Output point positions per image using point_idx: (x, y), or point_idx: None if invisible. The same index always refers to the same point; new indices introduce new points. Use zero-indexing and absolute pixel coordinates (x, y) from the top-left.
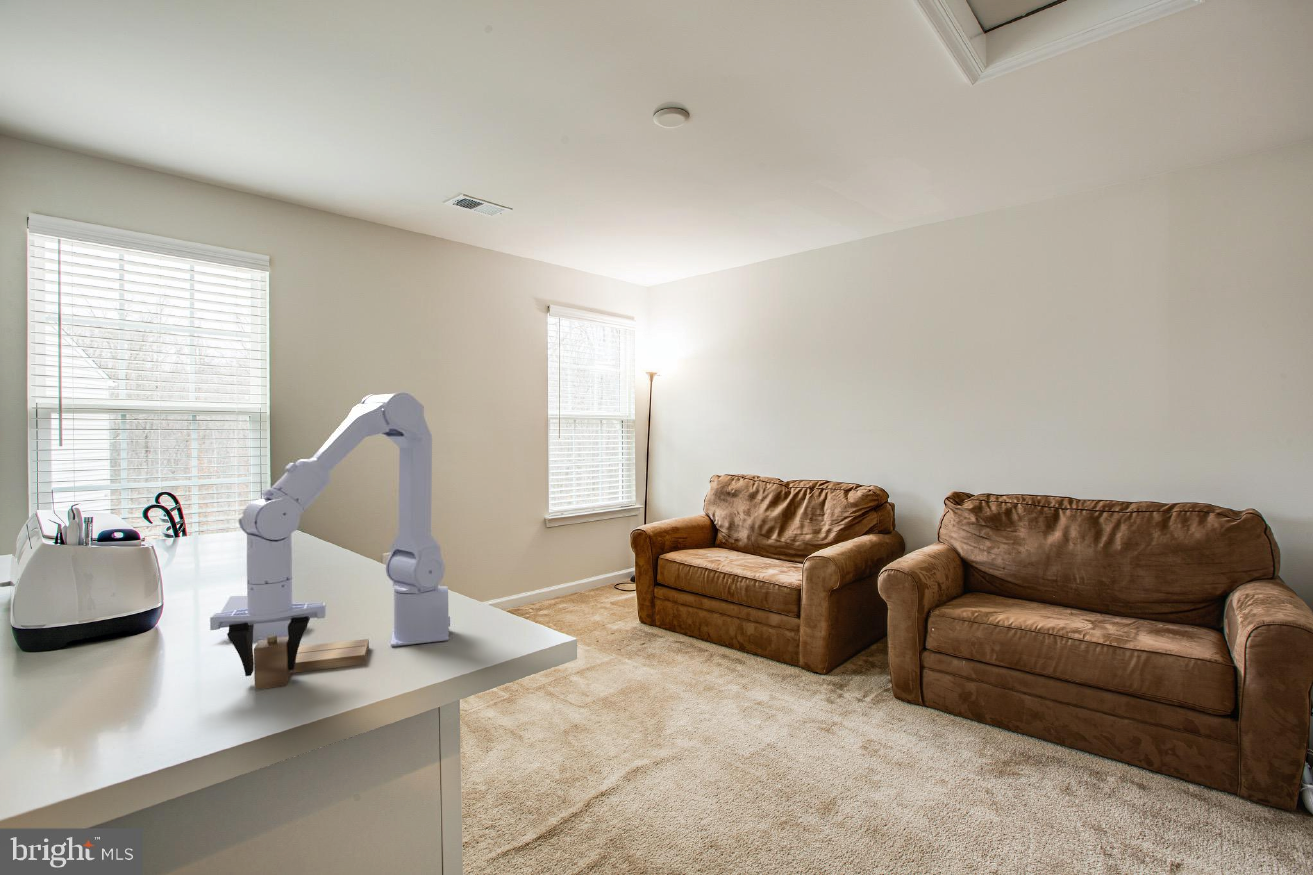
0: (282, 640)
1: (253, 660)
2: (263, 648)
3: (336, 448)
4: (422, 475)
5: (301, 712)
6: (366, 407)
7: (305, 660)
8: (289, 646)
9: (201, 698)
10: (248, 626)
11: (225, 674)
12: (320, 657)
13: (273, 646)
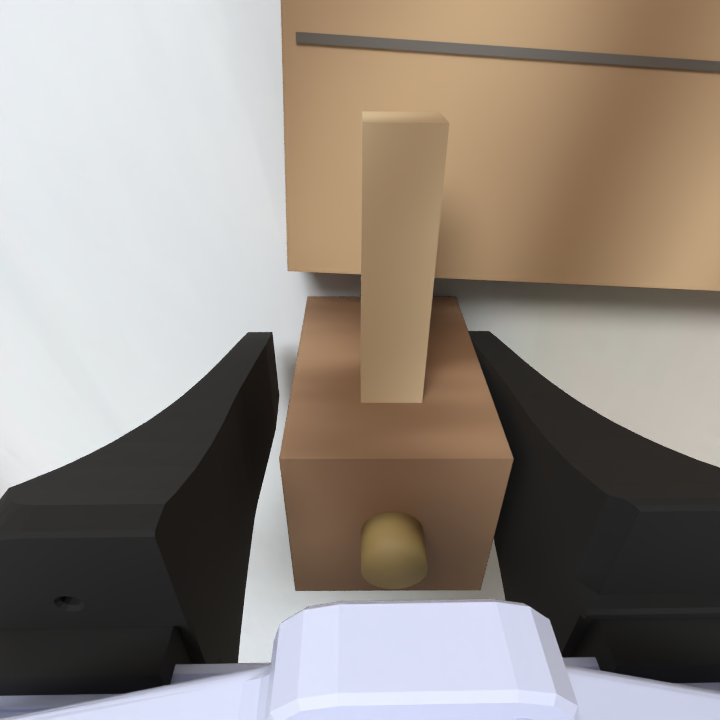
0: (459, 522)
1: (260, 356)
2: (350, 583)
3: None
4: None
5: (485, 594)
6: None
7: (554, 265)
8: (495, 532)
9: (114, 414)
10: (190, 657)
11: (51, 101)
12: (649, 242)
13: (408, 587)
